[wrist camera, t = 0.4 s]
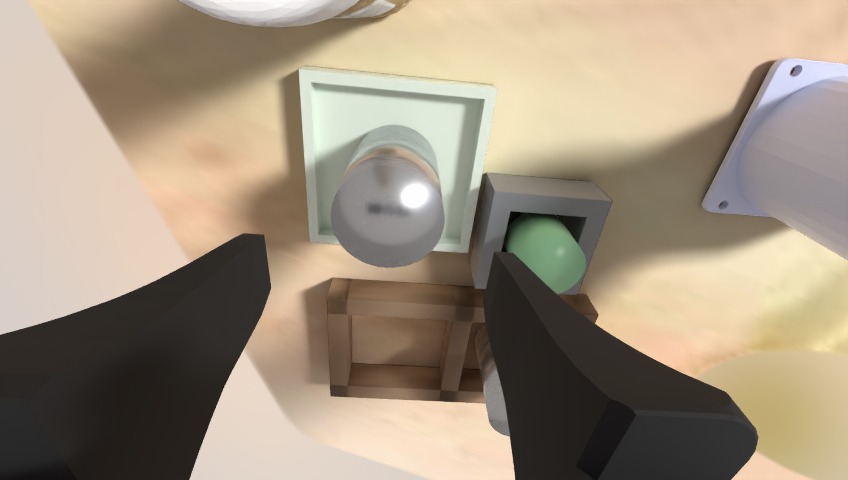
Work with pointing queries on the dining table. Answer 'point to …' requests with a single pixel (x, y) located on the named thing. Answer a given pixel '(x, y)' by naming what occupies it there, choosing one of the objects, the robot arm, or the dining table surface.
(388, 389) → the pallet
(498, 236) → the grey square frame
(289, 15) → the sprinkles bottle
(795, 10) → the dining table surface
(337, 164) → the pale green square tray
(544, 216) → the button
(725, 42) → the dining table surface
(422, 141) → the cylinder
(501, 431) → the seated billet
